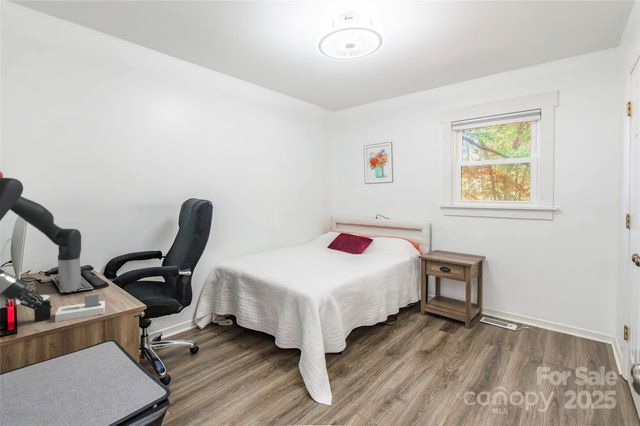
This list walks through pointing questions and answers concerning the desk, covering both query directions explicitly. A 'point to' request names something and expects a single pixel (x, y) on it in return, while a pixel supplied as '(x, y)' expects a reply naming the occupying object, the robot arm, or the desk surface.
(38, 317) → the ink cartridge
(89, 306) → the white slotted tray
